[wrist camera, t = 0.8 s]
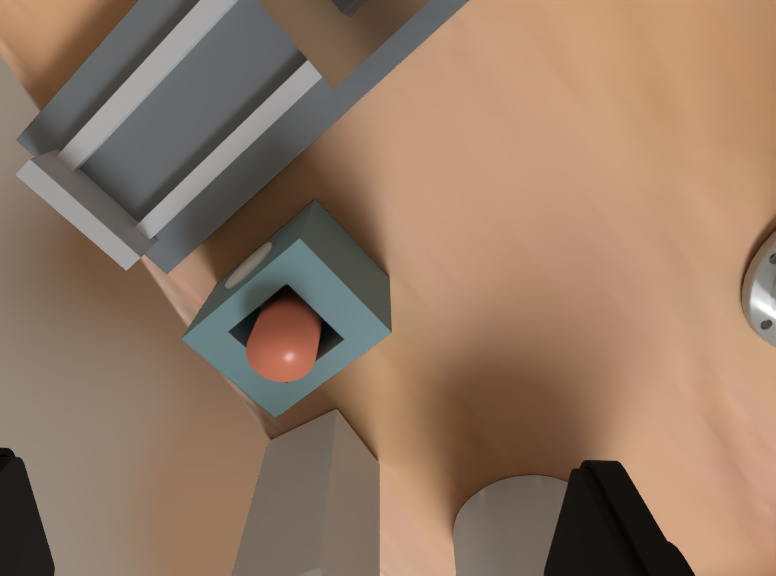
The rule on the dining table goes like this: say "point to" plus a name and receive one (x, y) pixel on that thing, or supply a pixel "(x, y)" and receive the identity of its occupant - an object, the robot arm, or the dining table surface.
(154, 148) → the rail board
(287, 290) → the button
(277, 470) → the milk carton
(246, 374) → the cabinet
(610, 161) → the dining table surface
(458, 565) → the utensil holder
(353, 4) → the carriage
